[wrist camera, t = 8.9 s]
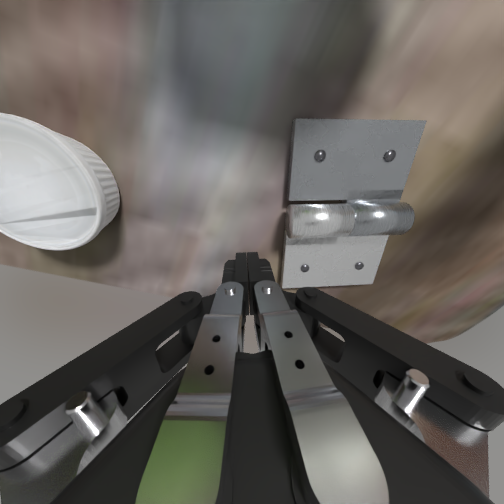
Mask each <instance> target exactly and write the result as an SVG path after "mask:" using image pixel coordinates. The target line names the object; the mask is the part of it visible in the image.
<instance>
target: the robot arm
mask: <svg viewBox="0 0 504 504" xmlns="http://www.w3.org/2000/svg"><path fill="white" fill-rule="evenodd" d="M248 290H249V293H248ZM249 305H250V315H254V328H255V333H256V338H257V344H258V350H259V353H256V354H249V353H244V352H243V349H244V334H245V322H246V315H249ZM320 323H323V324H324V325H326V326H328V327H329V328H331V329H332V330H334V331H335V332H337V333H339V334H340V335H341V336H342V337H343V338H344V340H345V342H343V341H341V340H340V339H338V338H337V337H335V336H334V335H332V334H331V333H329V332H328V331H326V330H325V329H323V328H322V327H320ZM178 330H179V333H178V334H177V335H176V336H175V337H173V338H172V339H171V340H169V341H168V342H167V343H166V344H164V345H163V346H162V347H161V348H159V349H158V350H157V351H156V349H157V348H158V346H159V345H160V344H161V343H162V342H163V341H165V340H166V339H167V338H169V337H170V336H171V335H172V334H174V333H175V332H176V331H178ZM187 363H188V364H187ZM185 364H187V366H186V367H185V368H184V369H182V370H181V371H180V372H179V373H177V372H178V371H179V370H180V369H181V368H182V367H183V366H185ZM176 373H177V374H176ZM175 374H176V375H175ZM174 375H175V376H174ZM173 376H174V377H173ZM172 377H173V378H172ZM171 378H172V379H171ZM170 379H171V380H170ZM169 380H170V381H169ZM168 381H169V382H168ZM167 382H168V383H167ZM166 383H167V384H166ZM165 384H166V385H165ZM164 385H165V386H164ZM163 386H164V387H163ZM162 387H163V388H162ZM161 388H162V389H161ZM160 389H161V390H160ZM159 390H160V391H159ZM158 391H159V392H158ZM157 392H158V393H157ZM156 393H157V394H156ZM154 394H156V395H155V396H154ZM153 396H154V397H153ZM152 397H153V398H152ZM151 398H152V399H151ZM150 399H151V400H150ZM149 400H150V401H149ZM147 401H149V402H148V403H147V404H146V405H145V406H144V407H143V409H141V410H140V411H139V413H138V414H137V415H136V416H135V417H134V418H133V419H132V420H131V421H130V422H129V423H128V424H127V421H128V420H129V419H130V418H131V417H132V416H133V415H134V414H135V413H136V412H137V411H138V410H139V409H140V408H141V407H142V406H143V405H144V404H145V403H146V402H147ZM503 421H504V389H503V388H502V387H501V386H500V385H499V384H498V383H497V382H495V381H494V380H493V379H492V378H490V377H489V376H487V375H486V374H484V373H482V372H480V371H479V370H477V369H475V368H473V367H471V366H469V365H467V364H465V363H463V362H461V361H459V360H457V359H455V358H453V357H451V356H449V355H447V354H445V353H443V352H441V351H439V350H437V349H435V348H433V347H431V346H429V345H427V344H425V343H423V342H421V341H419V340H417V339H415V338H413V337H411V336H409V335H407V334H405V333H403V332H401V331H400V330H398V329H396V328H394V327H392V326H390V325H388V324H386V323H384V322H382V321H380V320H378V319H376V318H374V317H372V316H370V315H368V314H366V313H364V312H362V311H360V310H358V309H356V308H354V307H352V306H350V305H348V304H346V303H344V302H342V301H340V300H338V299H336V298H334V297H332V296H330V295H328V294H326V293H324V292H322V291H320V290H318V289H316V288H313V287H302V288H300V289H298V290H297V292H296V293H290V292H286V291H283V290H281V288H280V286H279V285H278V284H277V283H276V282H275V279H274V276H273V272H272V269H271V266H270V262H269V261H267V260H266V259H259V257H258V252H247V256H246V253H236V260H228V261H227V262H226V263H225V266H224V273H223V278H222V284H221V285H220V286H219V287H218V288H217V291H216V293H215V294H213V295H210V296H207V297H203V298H202V296H201V295H200V294H199V293H198V292H193V291H189V292H184V293H182V294H179V295H178V296H176V297H174V298H173V299H171V300H170V301H168V302H166V303H165V304H163V305H162V306H160V307H158V308H157V309H155V310H153V311H152V312H150V313H148V314H147V315H145V316H144V317H142V318H140V319H139V320H137V321H135V322H134V323H132V324H131V325H129V326H128V327H126V328H124V329H123V330H121V331H119V332H118V333H116V334H114V335H113V336H111V337H109V338H108V339H107V340H105V341H103V342H101V343H100V344H98V345H97V346H95V347H93V348H92V349H90V350H89V351H87V352H85V353H83V354H82V355H80V356H79V357H77V358H75V359H74V360H72V361H70V362H69V363H67V364H66V365H64V366H62V367H61V368H59V369H57V370H56V371H54V372H53V373H51V374H49V375H48V376H46V377H44V378H43V379H41V380H39V381H38V382H36V383H35V384H33V385H31V386H30V387H28V388H26V389H25V390H23V391H22V392H20V393H19V394H17V395H15V396H14V397H12V398H10V399H9V400H7V401H5V402H4V403H2V404H1V405H0V495H1V504H494V503H493V502H492V501H491V500H490V499H489V469H488V467H489V466H488V434H489V433H490V432H491V431H493V430H494V429H495V428H496V427H497V426H499V425H500V424H501V423H502V422H503ZM126 424H127V425H126Z"/></svg>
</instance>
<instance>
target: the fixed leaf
mask: <svg viewBox="0 0 504 504" xmlns="http://www.w3.org/2000/svg"><path fill="white" fill-rule="evenodd" d="M425 124H426V121H420V120H356V119H295V120H293V122H292V135H291V148H290V161H289V174H288V187H287V200H289V201H305V200H342V201H341V204H350V205H351V206H352V207H353V209H354V213H355V224H354V228H353V230H352V232H351V233H350V235H348V236H381V235H402V234H404V233H406V232H407V231H409V230H410V228H411V227H412V225H413V222H414V217H415V216H414V210H413V208H412V207H411V206H410V205H409V204H407V203H404V202H399V201H400V198H401V195H402V192H403V189H404V187H405V184H406V181H407V178H408V175H409V172H410V169H411V166H412V163H413V160H414V157H415V154H416V151H417V148H418V145H419V142H420V139H421V136H422V133H423V130H424V127H425ZM348 236H346V237H348Z"/></svg>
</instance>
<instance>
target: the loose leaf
mask: <svg viewBox="0 0 504 504" xmlns="http://www.w3.org/2000/svg"><path fill="white" fill-rule="evenodd" d="M354 224H355V213H354V209H353V207H352V206H351V205H350V204H290V205H289V206H288V208H287V211H286V218H285V226H286V229H285V231H284V244H283V257H282V270H281V283H280V284H281V287H282V288H301V287H321V286H341V285H361V284H373V281H374V278H375V275H376V272H377V269H378V266H379V263H380V260H381V257H382V254H383V251H384V248H385V245H386V242H387V239H388V237H389V235H381V236H348V235H350V233H351V232H352V230H353V228H354ZM346 236H348V237H346Z"/></svg>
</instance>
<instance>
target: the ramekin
mask: <svg viewBox="0 0 504 504" xmlns="http://www.w3.org/2000/svg"><path fill="white" fill-rule="evenodd" d="M119 206H120V195H119V189H118V186H117V183H116V181H115V178H114V176H113V175H112V173H111V171H110V169H109V168H108V166H107V165H106V164H105V163H104V162H103V160H102V159H101V158H100V157H98V156H97V154H96V153H94V152H93V151H92V150H90V149H89V148H88V147H86V146H85V145H83V144H82V143H80V142H78V141H76V140H74V139H72V138H69V137H67V136H64V135H62V134H59V133H57V132H54V131H52V130H50V129H48V128H46V127H44V126H43V125H40V124H38V123H36V122H33V121H31V120H28V119H25V118H22V117H19V116H15V115H11V114H4V113H0V232H1V233H3V234H5V235H7V236H8V237H10V238H12V239H14V240H17V241H19V242H21V243H24V244H26V245H29V246H33V247H36V248H40V249H46V250H70V249H74V248H77V247H80V246H82V245H85V244H86V243H88V242H90V241H91V240H92V239H94V238H95V237H96V236H97V235H98V234H99V232H100V231H101V230H102V229H103V228H104V227H105V226H106V225H107V224H109V223H110V222H111V221H112V220H113V218H114V217H115V215H116V213H117V212H118V208H119Z"/></svg>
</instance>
